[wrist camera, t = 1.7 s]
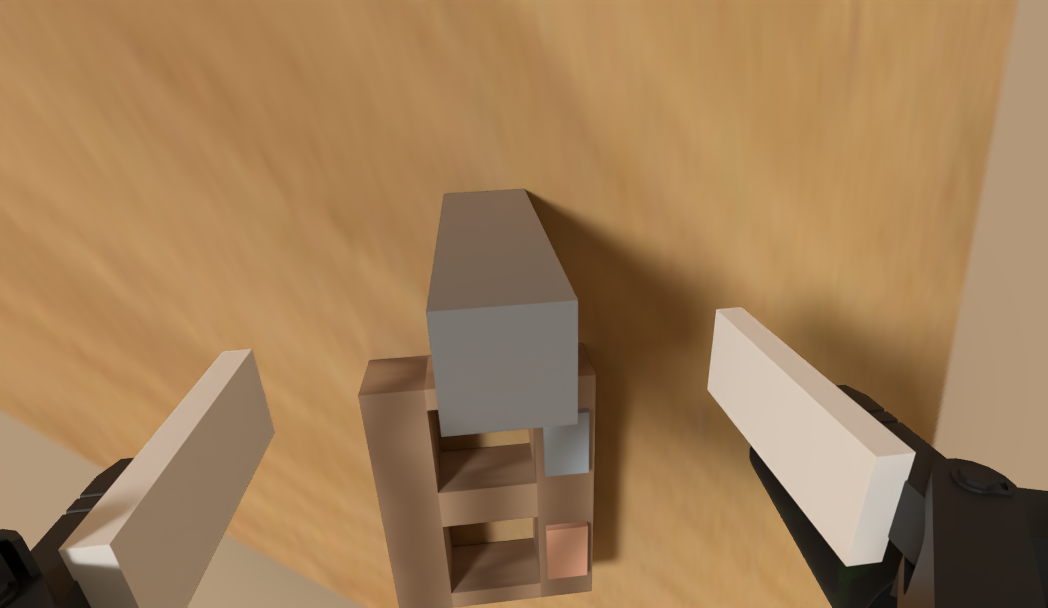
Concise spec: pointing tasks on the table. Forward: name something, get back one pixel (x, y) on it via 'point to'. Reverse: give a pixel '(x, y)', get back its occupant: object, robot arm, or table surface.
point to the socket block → (477, 495)
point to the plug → (500, 319)
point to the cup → (832, 554)
